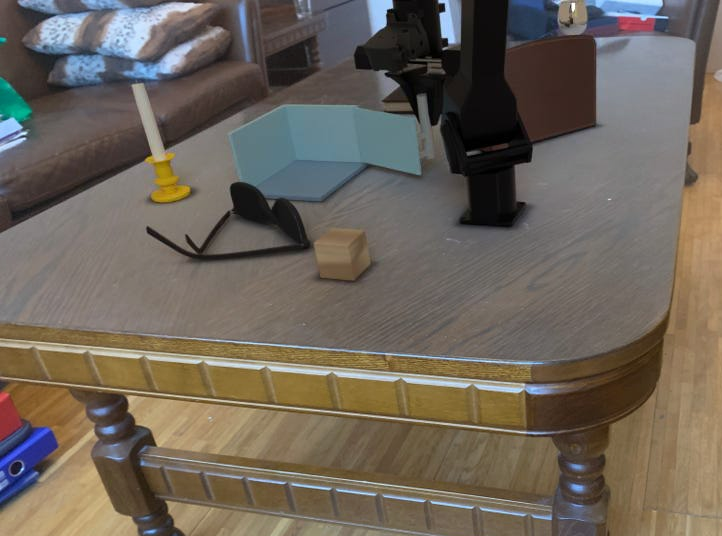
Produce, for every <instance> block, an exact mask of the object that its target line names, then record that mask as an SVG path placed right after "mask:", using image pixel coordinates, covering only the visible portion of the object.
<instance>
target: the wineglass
mask: <svg viewBox="0 0 722 536" xmlns="http://www.w3.org/2000/svg"><path fill="white" fill-rule="evenodd" d="M557 27H558V31H559V32H560V33H561V34H562V36H566V35H583V33H585V31H586V30H587V27H588V11H587V5H586V1H585V0H562V1H560V2H559V7H558V12H557Z"/></svg>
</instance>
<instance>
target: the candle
mask: <svg viewBox="0 0 722 536" xmlns="http://www.w3.org/2000/svg"><path fill="white" fill-rule="evenodd" d="M131 88H132V93H133V97H134V99H135V104H136V106H137V109H138V113H139V117H140V119H141V122H142V125H143V126H142V127H143V130H144V132H145V136H146V139H147V142H148V145H149V149H150V152H151V155H150V156H148V157H146V158H145V160H144V161H145V163H149V164H152V166H153V167H154V173H155V174H156V176H157V177H156V178H155V179H154V184H155V185H156V186H159V187H160V188H159V189H157V190H155V191H154V192H152V193H151V195H150V197H151V200H152V201H153V202H155V203H162V204H163V203H171V202H177V201H180V200H182V199H185V198H187V197H189V196H190V195H191V193H192V190H191V188H190V187H189V186H187V185H182V184H181V185H180V184H179V185H177V182H179V181H180V177H179V175H177V174H174V170H173V167H172V165H171V160H173V159H174V158H175V157H176V154H175V153H173V152H166V150H165V146H164V143H163V140H162V137H161V134H160V129H159V127H158V124H157V121H156V118H155V114H154V110H153V109H152V104H151V102H150V99H149V95H148V92H147V89H146V86H145V83H143V82H141V83H138V80H137V79H135V83H133V84H131Z"/></svg>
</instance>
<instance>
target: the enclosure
mask: <svg viewBox="0 0 722 536" xmlns="http://www.w3.org/2000/svg"><path fill="white" fill-rule="evenodd" d="M354 107H356V108H360V107H359V105H358V104H357V105H356V104H354V105H353V104H301V103H300V104H296V103H295V104H293V103H291V104H290V103H283V104H281V105H280V106H277V107H276V108H274V109H272V110H270V111H267V112H266V113H263V114H262V115H260V116H258V117H257V118H254V119H253V120H251V121H248V122H247V123H245V124H243V125H241V126H238V127H237V128H235V129H233V130H231V131H230V132H228V133H226V135H227V139H228V142H229V146H230V151H231V155H232V159H233V162H234V166H235V167H234V168H235V172H236V174H237V179H238V182H245V183H248V184H251V185H253V186H255V187H256V188H258V189H259V190H260V191H261V193H262V194H263V195H264V197H265V199H272V200H276V199H278V198H285V199H287V200H288V201H305V202H320V203H321V202H322V201H324V200H325V199H326V198H328V197H329V196H330V195H332V194H333V193H334V192H336V191H337V190H338V189H340V188H341V187H342V186H344V185H345V184H346V183H347V182H349V181H350V180H352V179H353V178H354V177H355V176H356V175H358V174H359V173H360V172H362V171H363V170H364V169H366V168H367V167H368V166H369V163H364V162H362V160H361V154H360V148H359V141H358V135H357V129H356V123H355V117H354V110H353V108H354Z"/></svg>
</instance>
